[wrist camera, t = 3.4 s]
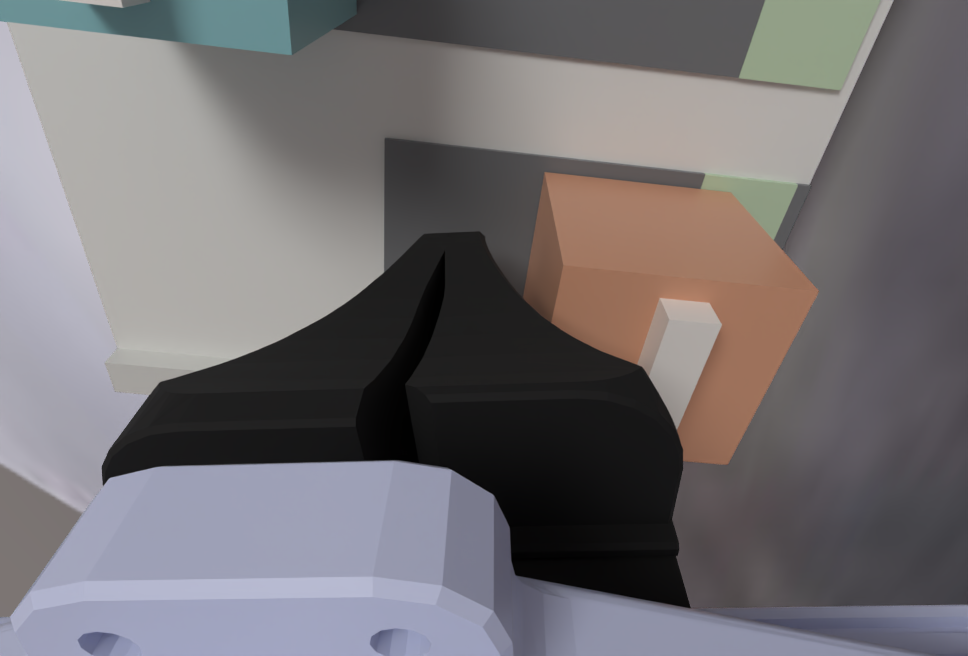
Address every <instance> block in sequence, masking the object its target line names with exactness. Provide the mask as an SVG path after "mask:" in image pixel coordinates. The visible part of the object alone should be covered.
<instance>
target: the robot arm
mask: <svg viewBox="0 0 968 656" xmlns="http://www.w3.org/2000/svg"><path fill="white" fill-rule="evenodd" d="M682 471H683V448H682V445H681V442H680V438H679V435H678V432H677V429H676V426H675V424H674V422H673V419H672V417H671V415H670V413H669V411H668V409H667V407H666V405H665V404H664V402H663V400H662V398H661V396H660V395H659V393H658V391H657V389H656V388H655V386H654V384H653V383H652V381H651V379H650V378H649V376H648V375H647V373H646V371H645V370H644V368H643V367H642V366H639V365H637V364H634V363H631V362H629V361H626V360H623V359H621V358H618V357H615V356H613V355H610V354H607V353H605V352H602V351H600V350H598V349H596V348H594V347H592V346H590V345H588V344H586V343H584V342H582V341H580V340H578V339H576V338H574V337H572V336H571V335H569V334H567V333H566V332H564V331H562V330H561V329H559V328H558V327H557V326H555V325H554V324H552V323H551V322H549V321H548V320H546V319H545V318H544V317H542V316H541V315H540V314H539V313H538V312H537V311H536V310H534V309H533V308H532V307H531V306H530V305H529V304H528V303H527V302H526V301H525V300H524V299H523V298H522V297H521V295H520V294H519V293H518V292H517V291H516V290H515V288H514V287H513V286H512V285H511V284H510V282H509V281H508V280H507V278H506V277H505V276H504V274H503V273H502V271H501V270H500V268H499V267H498V265H497V264H496V262H495V260H494V259H493V257H492V255H491V253H490V251H489V249H488V246H487V244H486V240H485V236H484V235H483V234H482V233H481V232H480V231H475V232H452V233H429V234H423V235H422V236H421V237H420V238H419V239H418V240H417V241H416V242H415V243H414V244H413V245H412V246H411V247H410V248H409V249H408V250H407V251H406V252H405V253H404V254H403V255H402V256H401V257H400V258H399V259H398V260H397V261H396V262H395V263H394V264H392V265H391V266H390V267H389V268H388V269H387V270H386V271H385V272H384V273H383V274H382V275H380V276H379V277H378V278H377V279H376V280H374V281H373V282H372V283H371V284H370V285H368V286H367V287H366V288H365V289H364V290H362V291H361V292H360V293H359V294H357V295H356V296H355V297H353V298H352V299H351V300H349V301H348V302H346V303H345V304H343V305H342V306H340V307H339V308H337V309H336V310H334V311H333V312H331V313H330V314H328V315H326V316H325V317H323V318H321V319H320V320H318V321H316V322H314V323H312V324H310V325H309V326H307V327H305V328H303V329H301V330H299V331H297V332H295V333H293V334H291V335H289V336H287V337H285V338H283V339H281V340H279V341H277V342H275V343H273V344H270V345H268V346H266V347H263V348H261V349H259V350H256V351H254V352H251V353H248V354H246V355H243V356H241V357H238V358H235V359H233V360H230V361H227V362H224V363H221V364H218V365H215V366H212V367H209V368H205V369H202V370H199V371H196V372H192V373H189V374H186V375H182V376H179V377H176V378H173V379H169V380H165V381H161V382H159V384H158V385H157V386H156V387H155V389H154V390H153V391H152V393H151V394H150V395H149V397H148V398H147V399H146V401H145V402H144V403H143V405H142V406H141V407H140V409H139V410H138V412H137V413H136V414H135V416H134V417H133V418H132V420H131V421H130V422H129V424H128V425H127V426H126V428H125V429H124V430H123V432H122V433H121V435H120V436H119V437H118V439H117V440H116V441H115V443H114V444H113V445H112V447H111V448H110V449H109V451H108V454H107V456H106V458H105V461H104V463H103V465H102V479H103V487H102V488H101V490H100V491H99V492H98V494H97V495H96V496H95V497H94V499H93V500H92V501H91V503H90V504H89V505H88V507H87V508H86V510H85V511H84V512H83V514H82V515H81V517H80V518H79V520H78V521H77V523H76V524H75V525H74V527H73V528H72V530H71V531H70V533H69V534H68V535H67V537H66V538H65V539H64V541H63V542H62V544H61V545H60V547H59V548H58V549H57V551H56V552H55V554H54V555H53V557H52V558H51V559H50V561H49V562H48V564H47V565H46V567H45V568H44V569H43V571H42V572H41V574H40V575H39V576H38V578H37V579H36V581H35V582H34V584H33V585H32V586H31V588H30V589H29V591H28V592H27V594H26V595H25V597H24V598H23V599H22V601H21V602H20V604H19V605H18V606H17V608H16V609H15V611H14V612H13V613H12V615H11V616H10V617H0V656H968V605H898V606H820V607H743V608H690V604H689V601H688V597H687V594H686V590H685V587H684V583H683V580H682V576H681V573H680V569H679V566H678V562H677V559H676V556H678V552H679V542H678V538H677V535H676V532H675V528H674V525H673V521H672V516H673V511H674V507H675V502H676V498H677V493H678V489H679V484H680V480H681V475H682Z"/></svg>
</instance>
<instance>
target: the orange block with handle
mask: <svg viewBox="0 0 968 656" xmlns="http://www.w3.org/2000/svg"><path fill="white" fill-rule="evenodd" d="M818 292H819V291H818V290H817V288H816V287H815V286H814V285H813V284H812V283H811V282H810V281H809V279H808V278H807V277H806V276H805V275H804V274H803V273H802V272H801V270H800V269H799V268H798V267H797V266H796V265H795V264H794V263H793V262H792V260H791V259H790V258H789V257H788V256H787V255H786V254H785V253H784V251H783V250H782V249H781V248H780V247H779V246H778V245H777V244H776V242H775V241H774V240H773V239H772V238H771V237H770V236H769V235H768V233H767V232H766V231H765V230H764V229H763V228H762V227H761V226H760V224H759V223H758V222H757V221H756V220H755V219H754V218H753V217H752V215H751V214H750V213H749V212H748V211H747V210H746V209H745V208H744V206H743V205H742V204H741V203H740V202H739V201H738V200H737V199H736V198H735V196H734V195H733V194H732V193H731V192H723V191H714V190H705V189H696V188H686V187H677V186H668V185H659V184H650V183H641V182H632V181H623V180H614V179H604V178H595V177H586V176H577V175H568V174H559V173H550V172H544V178H543V184H542V190H541V195H540V201H539V207H538V213H537V219H536V224H535V230H534V236H533V242H532V248H531V253H530V259H529V265H528V271H527V277H526V282H525V288H524V294H523V299H524V300H525V301H526V302H527V303H528V304H529V305H530V306H531V307H532V308H533V309H534V310H536V311H537V312H538V313H539V314H540V315H541V316H542V317H544V318H545V319H546V320H548V321H549V322H551V323H552V324H554V325H555V326H557V327H558V328H559V329H561V330H562V331H564V332H566V333H567V334H569V335H571V336H572V337H574V338H576V339H578V340H580V341H582V342H584V343H586V344H588V345H590V346H592V347H594V348H596V349H598V350H600V351H602V352H605V353H607V354H610V355H613V356H615V357H618V358H621V359H623V360H626V361H629V362H631V363H634V364H637V365H639V366H642V367H643V368H644V370H645V371H646V373H647V375H648V376H649V378H650V379H651V381H652V383H653V384H654V386H655V388H656V389H657V391H658V393H659V395H660V396H661V398H662V400H663V402H664V404H665V405H666V407H667V409H668V411H669V413H670V415H671V417H672V419H673V422H674V424H675V426H676V429H677V432H678V435H679V438H680V442H681V445H682V448H683V461H687V462H699V463H711V464H722V465H728V463H729V461H730V459H731V457H732V456H733V454H734V452H735V450H736V448H737V446H738V444H739V442H740V440H741V438H742V437H743V435H744V433H745V431H746V429H747V427H748V425H749V423H750V421H751V420H752V418H753V416H754V414H755V412H756V410H757V408H758V406H759V404H760V402H761V401H762V399H763V397H764V395H765V393H766V391H767V389H768V387H769V385H770V383H771V382H772V380H773V378H774V376H775V374H776V372H777V370H778V368H779V366H780V364H781V363H782V361H783V359H784V357H785V355H786V353H787V351H788V349H789V347H790V346H791V344H792V342H793V340H794V338H795V336H796V334H797V332H798V330H799V328H800V327H801V325H802V323H803V321H804V319H805V317H806V315H807V313H808V311H809V309H810V308H811V306H812V304H813V302H814V300H815V298H816V296H817V294H818Z"/></svg>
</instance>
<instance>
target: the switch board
mask: <svg viewBox="0 0 968 656" xmlns="http://www.w3.org/2000/svg"><path fill="white" fill-rule="evenodd" d="M893 1H894V0H357V14H356V15H355V16H353V17H352V18H350V19H348V20H347V21H345V22H344V23H342V24H341V25H339V26H337V27H336V28H334V29H333V30H331V31H329V32H328V33H326V34H325V35H323V36H322V37H320V38H318V39H317V40H315V41H314V42H312V43H310V44H309V45H307V46H306V47H304V48H303V49H301V50H299V51H298V52H296V53H295V54H293V55H285V54H276V53H268V52H259V51H251V50H242V49H234V48H225V47H217V46H208V45H200V44H191V43H183V42H174V41H166V40H157V39H148V38H140V37H131V36H123V35H114V34H106V33H97V32H89V31H80V30H72V29H63V28H55V27H46V26H38V25H29V24H21V23H12V22H7V24H8V27H9V30H10V33H11V36H12V39H13V42H14V45H15V47H16V50H17V53H18V56H19V59H20V62H21V65H22V68H23V71H24V74H25V77H26V80H27V83H28V86H29V89H30V92H31V95H32V98H33V101H34V104H35V106H36V109H37V112H38V115H39V118H40V121H41V124H42V127H43V130H44V133H45V136H46V139H47V142H48V145H49V148H50V151H51V154H52V157H53V160H54V163H55V165H56V168H57V171H58V174H59V177H60V180H61V183H62V186H63V189H64V192H65V195H66V198H67V201H68V204H69V207H70V210H71V213H72V216H73V219H74V222H75V224H76V227H77V230H78V233H79V236H80V239H81V242H82V245H83V248H84V251H85V254H86V257H87V260H88V263H89V266H90V269H91V272H92V275H93V278H94V281H95V283H96V286H97V289H98V292H99V295H100V298H101V301H102V304H103V307H104V310H105V313H106V316H107V319H108V322H109V325H110V328H111V331H112V334H113V337H114V340H115V342H116V345H117V349H116V350H115V352H114V353H113V354H112V355H111V356H110V357H109V358H108V359H107V360H106V362H105V365H106V368H107V370H108V373H109V376H110V379H111V382H112V384H113V387H114V390H115V392H123V393H134V394H146V395H150V394H151V393H152V391H153V390H154V389H155V387H156V386H157V385H158V384H159V382H161V381H165V380H169V379H173V378H176V377H179V376H182V375H186V374H189V373H192V372H196V371H199V370H202V369H205V368H209V367H212V366H215V365H218V364H221V363H224V362H227V361H230V360H233V359H235V358H238V357H241V356H243V355H246V354H248V353H251V352H254V351H256V350H259V349H261V348H263V347H266V346H268V345H270V344H273V343H275V342H277V341H279V340H281V339H283V338H285V337H287V336H289V335H291V334H293V333H295V332H297V331H299V330H301V329H303V328H305V327H307V326H309V325H310V324H312V323H314V322H316V321H318V320H320V319H321V318H323V317H325V316H326V315H328V314H330V313H331V312H333V311H334V310H336V309H337V308H339V307H340V306H342V305H343V304H345V303H346V302H348V301H349V300H351V299H352V298H353V297H355V296H356V295H357V294H359V293H360V292H361V291H362V290H364V289H365V288H366V287H367V286H368V285H370V284H371V283H372V282H373V281H374V280H376V279H377V278H378V277H379V276H380V275H382V274H383V273H384V272H385V271H386V270H387V269H388V268H389V267H390V266H391V265H392V264H394V263H395V262H396V261H397V260H398V259H399V258H400V257H401V256H402V255H403V254H404V253H405V252H406V251H407V250H408V249H409V248H410V247H411V246H412V245H413V244H414V243H415V242H416V241H417V240H418V239H419V238H420V237H421V236H422V235H423V234H429V233H452V232H475V231H480V232H481V233H482V234H483V235H484V236H485V240H486V244H487V246H488V249H489V251H490V253H491V255H492V257H493V259H494V260H495V262H496V264H497V265H498V267H499V268H500V270H501V271H502V273H503V274H504V276H505V277H506V278H507V280H508V281H509V282H510V284H511V285H512V286H513V287H514V288H515V290H516V291H517V292H518V293H519V294H520V295H521V297H522V298H523V294H524V288H525V282H526V277H527V271H528V265H529V259H530V253H531V248H532V242H533V236H534V230H535V224H536V219H537V213H538V207H539V201H540V195H541V190H542V184H543V178H544V172H550V173H559V174H568V175H577V176H586V177H595V178H604V179H614V180H623V181H632V182H641V183H650V184H659V185H668V186H677V187H686V188H696V189H705V190H714V191H723V192H731V193H732V194H733V195H734V196H735V198H736V199H737V200H738V201H739V202H740V203H741V204H742V205H743V206H744V208H745V209H746V210H747V211H748V212H749V213H750V214H751V215H752V217H753V218H754V219H755V220H756V221H757V222H758V223H759V224H760V226H761V227H762V228H763V229H764V230H765V231H766V232H767V233H768V235H769V236H770V237H771V238H772V239H773V240H774V241H775V242H776V244H777V245H778V246H779V247H780V248H781V249H782V250H783V247H784V245H785V243H786V241H787V239H788V236H789V234H790V232H791V230H792V228H793V226H794V223H795V221H796V219H797V217H798V215H799V213H800V210H801V208H802V206H803V204H804V202H805V200H806V197H807V195H808V193H809V191H810V189H811V186H810V185H809V184H810V182H811V180H812V178H813V176H814V173H815V171H816V169H817V167H818V165H819V163H820V160H821V158H822V156H823V154H824V152H825V149H826V147H827V145H828V143H829V141H830V138H831V136H832V134H833V132H834V130H835V128H836V125H837V123H838V121H839V119H840V117H841V114H842V112H843V110H844V108H845V106H846V103H847V101H848V99H849V97H850V95H851V92H852V90H853V88H854V86H855V84H856V82H857V79H858V77H859V75H860V73H861V71H862V68H863V66H864V64H865V62H866V60H867V57H868V55H869V53H870V51H871V49H872V47H873V44H874V42H875V40H876V38H877V36H878V33H879V31H880V29H881V27H882V25H883V22H884V20H885V18H886V16H887V14H888V12H889V9H890V7H891V5H892V3H893Z"/></svg>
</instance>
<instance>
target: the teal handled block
mask: <svg viewBox="0 0 968 656" xmlns="http://www.w3.org/2000/svg"><path fill="white" fill-rule="evenodd" d="M356 14H357V0H0V21H3V22H12V23H21V24H29V25H38V26H46V27H55V28H63V29H72V30H80V31H89V32H97V33H106V34H114V35H123V36H131V37H140V38H148V39H157V40H166V41H174V42H183V43H191V44H200V45H208V46H217V47H225V48H234V49H242V50H251V51H259V52H268V53H276V54H285V55H293V54H295V53H296V52H298V51H299V50H301V49H303V48H304V47H306V46H307V45H309V44H310V43H312V42H314V41H315V40H317V39H318V38H320V37H322V36H323V35H325V34H326V33H328V32H329V31H331V30H333V29H334V28H336V27H337V26H339V25H341V24H342V23H344V22H345V21H347V20H348V19H350V18H352V17H353V16H355V15H356Z"/></svg>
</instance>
